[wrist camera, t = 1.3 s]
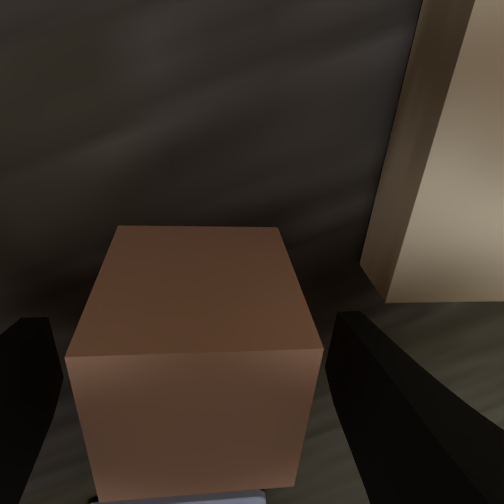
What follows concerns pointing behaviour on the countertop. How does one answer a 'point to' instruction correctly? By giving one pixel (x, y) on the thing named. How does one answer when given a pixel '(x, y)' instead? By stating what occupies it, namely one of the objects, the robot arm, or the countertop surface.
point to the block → (194, 363)
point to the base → (444, 164)
